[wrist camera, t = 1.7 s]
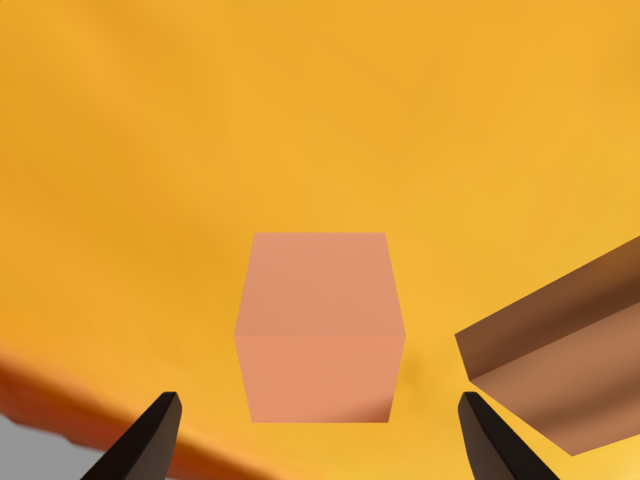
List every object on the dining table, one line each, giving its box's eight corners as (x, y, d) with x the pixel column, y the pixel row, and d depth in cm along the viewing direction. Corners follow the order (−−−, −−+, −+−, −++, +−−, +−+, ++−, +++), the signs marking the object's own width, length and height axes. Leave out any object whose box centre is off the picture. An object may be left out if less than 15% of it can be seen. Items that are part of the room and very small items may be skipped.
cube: (265, 317, 19) (251, 422, 15) (255, 231, 16) (233, 336, 12) (374, 317, 19) (388, 422, 15) (384, 231, 16) (405, 335, 12)
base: (454, 334, 19) (469, 381, 18) (685, 210, 15) (740, 255, 13) (551, 412, 24) (571, 456, 22) (752, 334, 19) (800, 381, 18)
